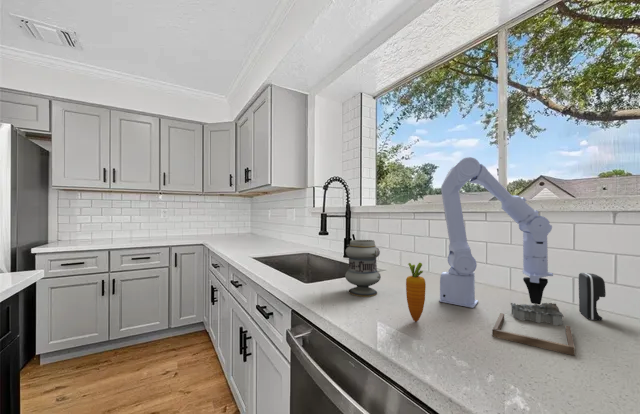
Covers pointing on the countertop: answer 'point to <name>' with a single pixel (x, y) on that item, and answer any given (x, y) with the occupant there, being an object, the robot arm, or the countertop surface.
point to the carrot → (415, 292)
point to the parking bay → (534, 339)
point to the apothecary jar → (362, 267)
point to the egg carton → (538, 313)
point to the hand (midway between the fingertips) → (535, 303)
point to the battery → (590, 294)
